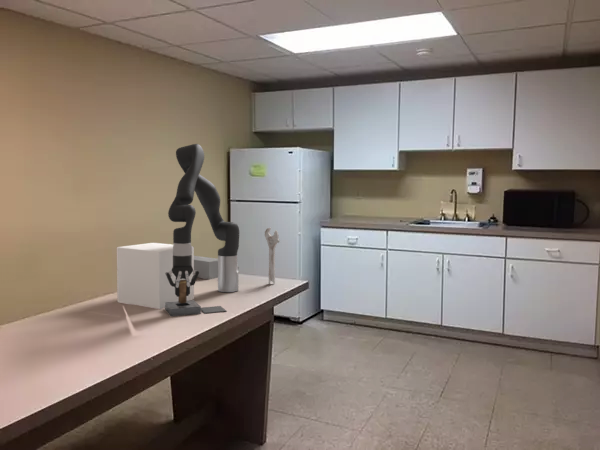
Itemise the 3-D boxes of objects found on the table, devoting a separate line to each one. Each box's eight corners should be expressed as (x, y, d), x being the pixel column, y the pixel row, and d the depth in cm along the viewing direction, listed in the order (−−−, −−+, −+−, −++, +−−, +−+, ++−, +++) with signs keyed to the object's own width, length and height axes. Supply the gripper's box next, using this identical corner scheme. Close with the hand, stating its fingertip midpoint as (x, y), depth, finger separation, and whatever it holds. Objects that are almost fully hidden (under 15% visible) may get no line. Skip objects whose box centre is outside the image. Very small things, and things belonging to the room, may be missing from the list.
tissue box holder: (239, 276, 296) (239, 257, 296) (209, 282, 278) (209, 261, 277) (207, 271, 311) (207, 253, 310) (177, 276, 292) (177, 257, 291)
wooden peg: (185, 301, 216) (185, 279, 215) (187, 302, 213) (187, 280, 212) (177, 301, 214) (177, 279, 213) (179, 303, 211) (179, 281, 210)
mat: (220, 306, 223) (220, 305, 223) (226, 311, 215) (226, 310, 215) (199, 308, 219) (199, 307, 219) (204, 313, 211) (204, 312, 211)
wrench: (279, 286, 268) (280, 227, 265) (278, 287, 266) (279, 228, 264) (265, 285, 270) (265, 227, 268) (264, 285, 269) (264, 227, 266)
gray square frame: (194, 307, 222) (194, 300, 221) (200, 313, 211) (200, 306, 210) (165, 309, 217) (165, 302, 216) (170, 316, 206) (170, 309, 206)
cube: (193, 300, 236) (193, 246, 234) (159, 310, 218) (159, 251, 216) (153, 293, 248) (152, 242, 246) (117, 302, 230) (116, 247, 228)
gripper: (197, 252, 218) (197, 292, 219) (162, 253, 212) (163, 295, 214) (201, 254, 211) (201, 296, 213) (166, 255, 206) (166, 299, 207)
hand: (182, 295), depth 213 cm, fingers closed on wooden peg, 3 cm apart
